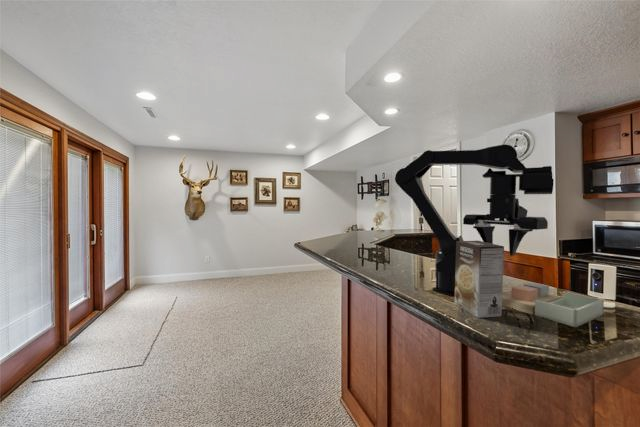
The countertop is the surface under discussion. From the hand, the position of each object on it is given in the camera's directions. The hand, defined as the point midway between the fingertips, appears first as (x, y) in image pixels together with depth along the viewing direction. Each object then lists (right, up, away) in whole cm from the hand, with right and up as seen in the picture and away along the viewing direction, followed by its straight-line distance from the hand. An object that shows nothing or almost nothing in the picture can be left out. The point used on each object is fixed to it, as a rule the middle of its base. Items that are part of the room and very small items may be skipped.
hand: (500, 254), depth 79 cm
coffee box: (-10, -13, -8) cm, 18 cm away
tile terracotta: (+3, -10, -5) cm, 12 cm away
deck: (+5, -12, -3) cm, 13 cm away
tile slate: (+8, -10, -2) cm, 13 cm away
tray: (+9, -13, -11) cm, 19 cm away
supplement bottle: (-5, -11, +22) cm, 25 cm away
